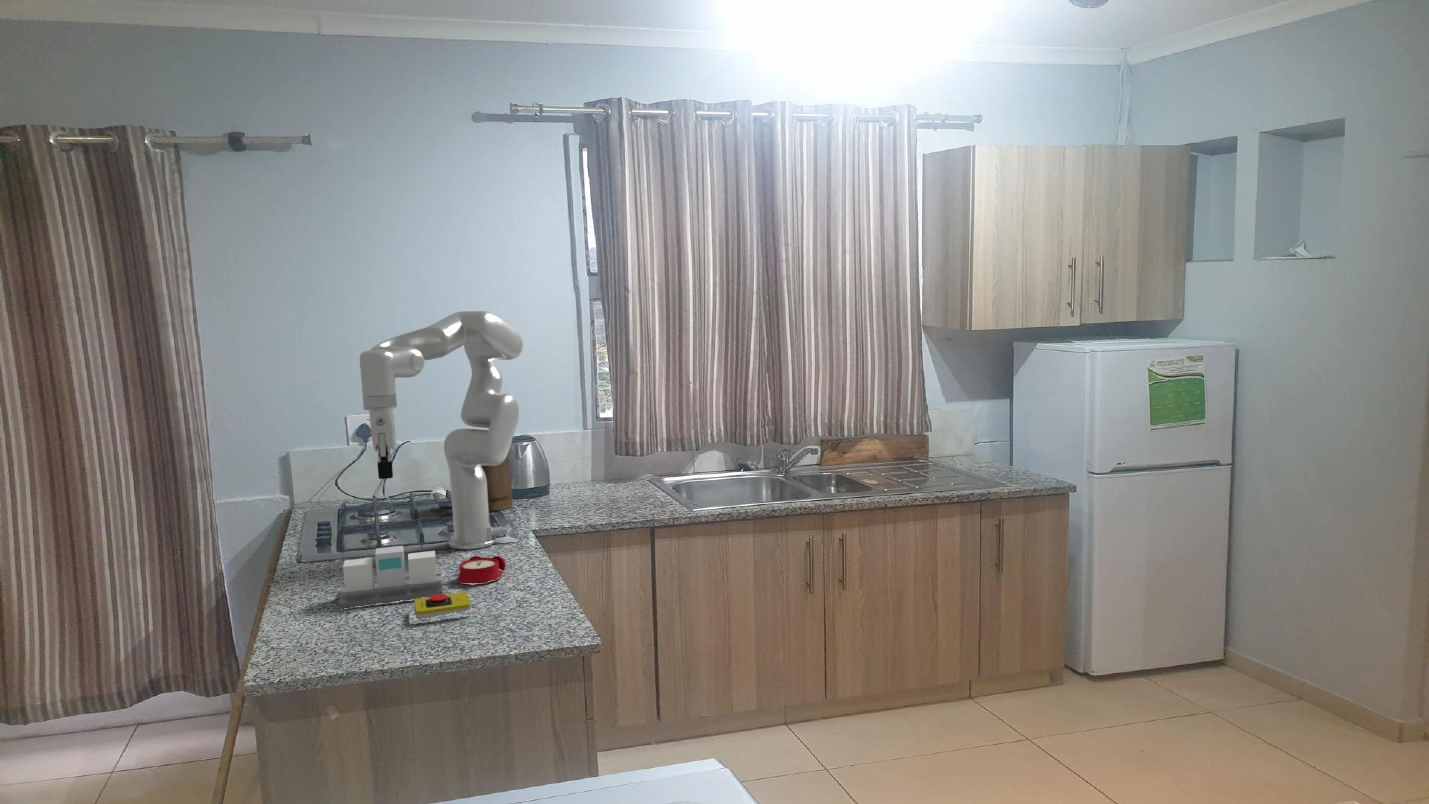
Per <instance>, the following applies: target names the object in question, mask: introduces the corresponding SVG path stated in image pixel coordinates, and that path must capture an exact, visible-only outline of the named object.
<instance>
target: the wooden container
mask: <svg viewBox="0 0 1429 804" xmlns="http://www.w3.org/2000/svg"><path fill="white" fill-rule="evenodd" d="M481 467H482V469H483V470H484V473H485V475H486V479H487V493H488V509H489V513H492V512H499V511H503V510H507V509H509V508H511V507H512V506H513V495H512V491H513V490H512V480H511V469H510V468H511V467H510V452H508V454H507V457H506V459H505V460H504V461H503V462H502V463H501V464H499V465H496V466H485V465H481Z"/></svg>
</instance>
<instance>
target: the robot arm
mask: <svg viewBox="0 0 1429 804" xmlns="http://www.w3.org/2000/svg"><path fill="white" fill-rule="evenodd" d="M523 343H524V341H523V338H522V337H521V334H520V333H519V331H517V329H515V327H512V325H510V324H509V323H507V322H506V321H504V320H503V319H502V318H500V317H499V316H497V315H496V314H493V313H492V312H489V311H487V310H478V311H477V310H475V311H474V310H473V311H472V310H471V311H468V310H467V311H465V310H463V311H457V312H454V313H451V314H449V315H447V316H445V317H444V318H442V319H440V320H438V321H436V322H434V323H432V324H430V325H428V326H426V327H423V328H420V329H419V328H418V329H416V330H412V331H409V332H406V333H403V334H399V335H395V336H393V337H391V338H388V339H385V340H384V341H382V342H379V344H378V343H377V344H376V345H374V346H373V347H372V348H371V349H370V350H364V351H362V352H361V353H360V355H359V369H360V380H361V381H360V382H361V392H362V406H363V411H369V413H368V415H369V423H370V424H369V425H370V426H369V427H370V434H371V440H372V447H373V451H375V452H377V473H378V479H379V480H383V479H384V480H385V479H392V478H394V477H393V476H394V472H393V470H394V469H393V461H392V457H391V450H392V451H394V450H396V447H397V440H396V430H395V429H396V427H395V417H394V411H393V409H395V408H398V404H397V390H396V389H397V387H396V378H405V379H407V378H413V377H416V376H417V375H419V374H420V373H421V372H422V371H423V369H424V366H425V361H431V360H437V359H440V358H443V357H446V356H447V355H449V354H451V353H452V352H454V351H455V350H457V349H459V348H461V347H462V346H463V347H464V352H465V354H466V357H467V359H468V361H469V365H470V369H471V377H470V382H469V385H468V388H467V391H466V394H465V398H464V399H463V400H464V401H463V404H462V407H461V411H460V418H461V421H462V423H464V424H465V425H466V426H469V427H473V428H457V429H454V430H453V431H450V432H449V433H448V434H447V435H446V437H445V439H444V442H443V450H444V456H445V458H446V464H447V467H448V472H449V482H450V492H451V494H450V495H451V507H452V508H451V509H452V510H451V511H452V524H453V535H454V536H453V537H451V538H450V539H449V541H448V546H449V547H450V548H451V549H455V550H476V549H477V550H478V549H482V548H483V549H484V548H487V547H490V546H492V545H494V544H495V543H496V542H497V536H503V535H508V527H507V526H506V527H505V526H504V527H502V526H496V527H494V526H492V524H491V522H490V512H489V509H488V493H487V479H486V475H485V473H484V470H483V469H482V467H481V465H485V466H496V465H499V464H501V463H502V462H503V461H504V460H505V459H506V457H507V454H508V452H509V451H510V448H511V445H512V442H513V438H514V435H515V432H516V429H517V425H518V421H519V415H520V409H519V408H520V407H519V403H518V401H517V400H516V398H515V397H514V396H512V395H510V394H508V393H502V392H501V390H502V386H503V376H502V373H501V371H500V369H499V367H498V365H497V363H496V361H497V360H498V361H505V360H507V361H511V360H515V359H517V358H518V357H519V356H520V355H521V353H522V351H523V347H524V345H523ZM478 428H482V429H478ZM483 428H484V429H483ZM509 453H510V452H509Z"/></svg>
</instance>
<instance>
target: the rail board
mask: <svg viewBox="0 0 1429 804" xmlns="http://www.w3.org/2000/svg"><path fill="white" fill-rule="evenodd" d="M436 594H444V593H443V580H442V573H440V572H439V573H437V582H429V583H421V584H413V585H410V577H409V576H408V577H407V576H406V585H403V586H394V587H386V588H378V582H377V580H374V588H373V589H370V590H362V591H354V592H345V584H343V586H342V587H341V589H340V601H339V610H340V609H344V608H350V607H355V606H364V605H371V604H376V603H377V604H378V603H389V602H393V601H400V600H411V599H417V598H422V597H431V596H433V595H436Z"/></svg>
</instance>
